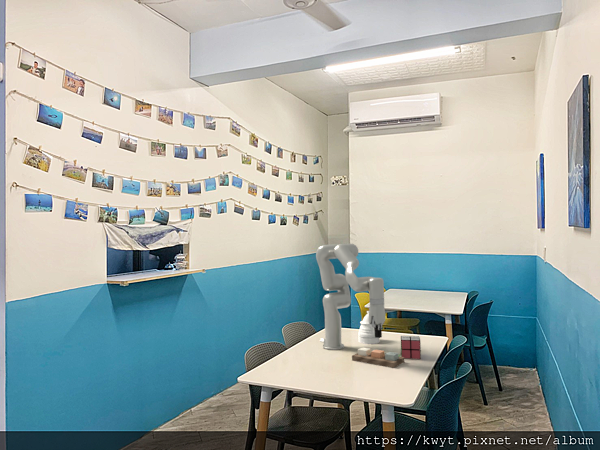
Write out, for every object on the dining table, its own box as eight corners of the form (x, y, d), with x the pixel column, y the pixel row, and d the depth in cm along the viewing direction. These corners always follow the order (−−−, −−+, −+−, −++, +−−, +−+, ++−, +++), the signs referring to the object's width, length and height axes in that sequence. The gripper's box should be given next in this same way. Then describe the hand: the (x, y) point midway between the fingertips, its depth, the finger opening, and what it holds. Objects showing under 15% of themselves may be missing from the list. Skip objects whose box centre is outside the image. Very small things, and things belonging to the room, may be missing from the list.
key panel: (352, 360, 240) (351, 355, 240) (363, 355, 249) (363, 350, 249) (393, 368, 225) (393, 363, 225) (404, 362, 235) (404, 357, 235)
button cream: (357, 355, 242) (357, 349, 242) (362, 353, 246) (362, 347, 246) (366, 356, 239) (366, 350, 239) (370, 354, 243) (370, 348, 243)
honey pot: (360, 338, 288) (360, 309, 289) (381, 339, 284) (380, 310, 284) (356, 343, 276) (355, 313, 277) (377, 344, 272) (376, 314, 272)
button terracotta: (371, 357, 237) (371, 351, 237) (375, 355, 241) (375, 349, 241) (379, 358, 234) (379, 353, 234) (384, 356, 238) (384, 350, 238)
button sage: (385, 359, 232) (385, 353, 232) (389, 357, 236) (389, 351, 236) (394, 361, 229) (394, 355, 229) (398, 359, 233) (398, 353, 233)
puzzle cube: (420, 359, 239) (420, 340, 240) (401, 358, 241) (400, 339, 242) (419, 354, 249) (419, 336, 249) (401, 353, 251) (400, 335, 251)
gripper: (377, 299, 246) (378, 334, 245) (363, 303, 234) (364, 339, 233) (390, 300, 241) (391, 335, 240) (376, 304, 229) (377, 340, 229)
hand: (378, 337), depth 237 cm, fingers closed
